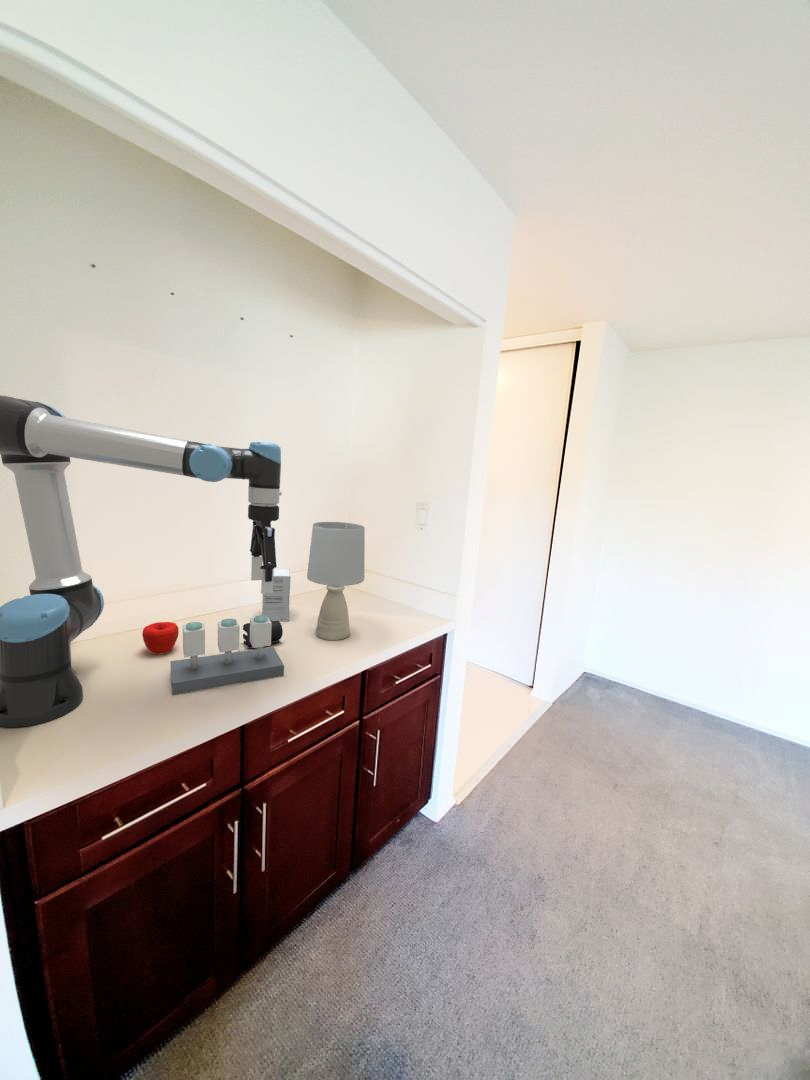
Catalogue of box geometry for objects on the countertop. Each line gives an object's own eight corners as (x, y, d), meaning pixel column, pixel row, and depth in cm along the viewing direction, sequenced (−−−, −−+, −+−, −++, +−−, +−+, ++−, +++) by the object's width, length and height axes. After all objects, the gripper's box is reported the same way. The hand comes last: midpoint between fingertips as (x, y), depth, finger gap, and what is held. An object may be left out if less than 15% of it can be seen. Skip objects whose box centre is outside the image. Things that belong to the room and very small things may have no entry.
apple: (167, 641, 127) (167, 616, 125) (185, 650, 122) (185, 624, 121) (136, 651, 119) (135, 625, 118) (153, 661, 115) (153, 633, 113)
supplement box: (262, 612, 156) (263, 568, 153) (288, 612, 159) (289, 568, 156) (261, 622, 147) (262, 575, 144) (289, 621, 150) (290, 575, 147)
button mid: (219, 652, 107) (220, 625, 106) (217, 645, 111) (217, 618, 110) (239, 649, 109) (239, 623, 108) (236, 642, 113) (236, 617, 112)
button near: (184, 657, 103) (184, 629, 102) (183, 649, 107) (182, 622, 105) (205, 654, 105) (205, 626, 104) (203, 646, 109) (203, 620, 108)
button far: (252, 647, 111) (253, 621, 110) (249, 640, 115) (250, 615, 114) (270, 645, 113) (271, 619, 112) (267, 638, 117) (267, 613, 116)
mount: (172, 695, 100) (171, 663, 98) (170, 671, 110) (170, 642, 108) (283, 675, 113) (284, 647, 111) (273, 656, 123) (273, 630, 122)
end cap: (251, 651, 125) (252, 630, 124) (241, 643, 130) (241, 622, 129) (282, 643, 132) (283, 623, 131) (271, 636, 137) (272, 616, 136)
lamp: (294, 639, 136) (298, 525, 129) (319, 620, 153) (324, 519, 147) (348, 649, 131) (356, 532, 125) (367, 629, 149) (375, 525, 143)
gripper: (291, 510, 100) (288, 598, 104) (268, 499, 120) (265, 573, 124) (258, 510, 96) (256, 601, 100) (240, 498, 116) (238, 575, 120)
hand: (261, 586), depth 112 cm, fingers open, 12 cm apart
